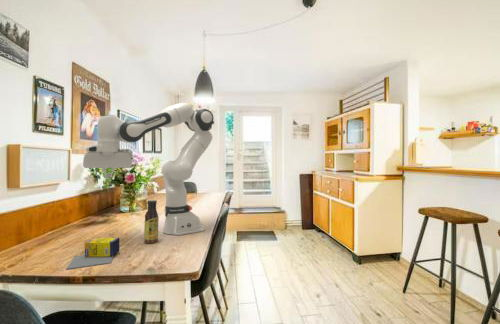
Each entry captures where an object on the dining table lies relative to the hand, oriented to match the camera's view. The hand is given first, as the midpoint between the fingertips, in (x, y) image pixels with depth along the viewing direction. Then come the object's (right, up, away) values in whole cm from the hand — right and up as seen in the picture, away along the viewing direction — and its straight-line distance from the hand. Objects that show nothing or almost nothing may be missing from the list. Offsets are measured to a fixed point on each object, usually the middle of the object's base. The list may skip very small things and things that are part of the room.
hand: (108, 177), depth 115 cm
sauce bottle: (+21, -31, -1) cm, 38 cm away
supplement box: (+13, -28, -17) cm, 35 cm away
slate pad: (+6, -31, -22) cm, 39 cm away
